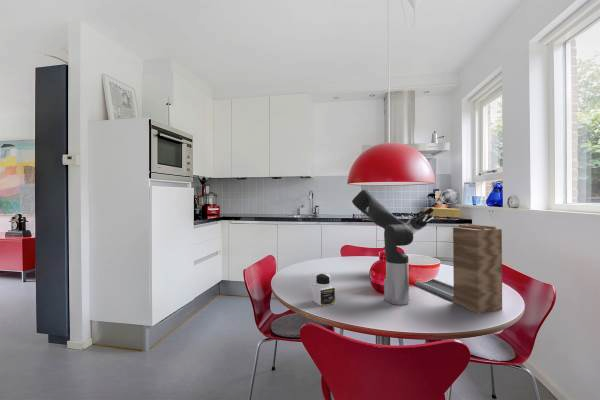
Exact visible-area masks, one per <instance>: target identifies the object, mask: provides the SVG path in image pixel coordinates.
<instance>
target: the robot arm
mask: <svg viewBox="0 0 600 400" xmlns="http://www.w3.org/2000/svg"><path fill="white" fill-rule="evenodd" d="M351 202H352V204H353V206H355V208H356V209H357V210H359V211H360V212H361V213H362V214H364V215H365V216H367V217H368V218H370V220H371V221H372V222H373V223H374V224H375V225H376V226H377V227H380V228H382V229H383V230H384V232H383V239H384V256H385V278H384V279H383V282H384V283H383V287H384V288H383V291H384V292H383V295H384V296H383V297H384V301H386V302H387V303H389V304H391V305H397V306H398V305H399V306H400V305H402V306H403V305H408V304H409V303H410V300H409V299H410V288H409V287H410V285H409V284H410V281H409V280H410V279H409V271H410V270H409V256H408V255H407V254H406V253H403V252H399V251H398V247H403V246H404V247H405V246H409V245H411V243H413V241H414V234H415V233H417V232H419V231H420V230H422V229H424V228H425V227H426V226H427V224H428V222H429V221H431V220H437V219H438V217H439V216H432V215H428V214H430V213H432V212H433V208H434V207H432V206H431V207H428V208H429V209H428V210H425V211H424V210H421V211H419V212H417V213H414V214H413V215H412V217H411V218H410V219H408V221H407V222H406V223H405V222H404V221H402V220H400V219H399V218H397V216H395V215H394V214H393V213H392V212H391V211H389V209H388V208H387V207H385V205H383V204H382V203H380V202H379V200H377V198H376V197H375V196H373V194H372V193H371V192H370V191H368V190H366V189H362V190H361V191H359V192H358V194H357V195H355V196H354V197H353V199H352V200H351ZM436 208H441V207H440V206H438V207H436Z"/></svg>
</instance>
